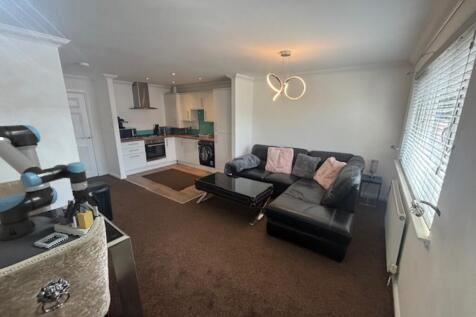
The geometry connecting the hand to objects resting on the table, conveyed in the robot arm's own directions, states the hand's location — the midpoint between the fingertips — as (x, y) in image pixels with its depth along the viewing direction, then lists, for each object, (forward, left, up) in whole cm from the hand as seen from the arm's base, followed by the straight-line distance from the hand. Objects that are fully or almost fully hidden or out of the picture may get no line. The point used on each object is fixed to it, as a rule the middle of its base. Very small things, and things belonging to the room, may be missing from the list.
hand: (86, 221), depth 120 cm
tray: (-10, -13, -7) cm, 18 cm away
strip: (-8, 0, -7) cm, 11 cm away
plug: (0, 0, -6) cm, 6 cm away
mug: (-23, +10, -7) cm, 26 cm away
